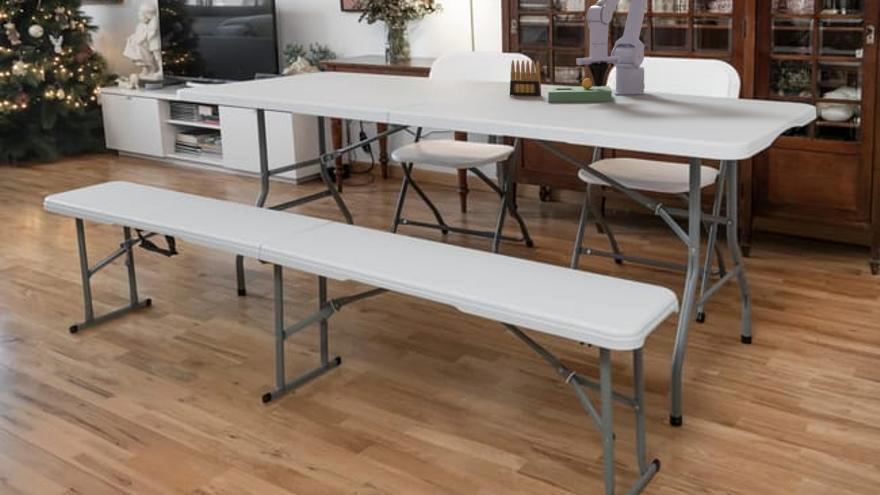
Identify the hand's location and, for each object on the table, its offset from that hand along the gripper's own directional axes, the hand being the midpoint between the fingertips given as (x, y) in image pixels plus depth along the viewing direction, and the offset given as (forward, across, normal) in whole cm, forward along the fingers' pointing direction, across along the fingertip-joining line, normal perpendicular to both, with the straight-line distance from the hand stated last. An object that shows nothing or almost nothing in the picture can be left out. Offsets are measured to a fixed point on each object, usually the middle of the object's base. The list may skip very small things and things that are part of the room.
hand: (597, 86), depth 323 cm
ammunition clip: (+4, +18, -19) cm, 27 cm away
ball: (-1, +3, -1) cm, 4 cm away
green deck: (+4, +6, -2) cm, 7 cm away
